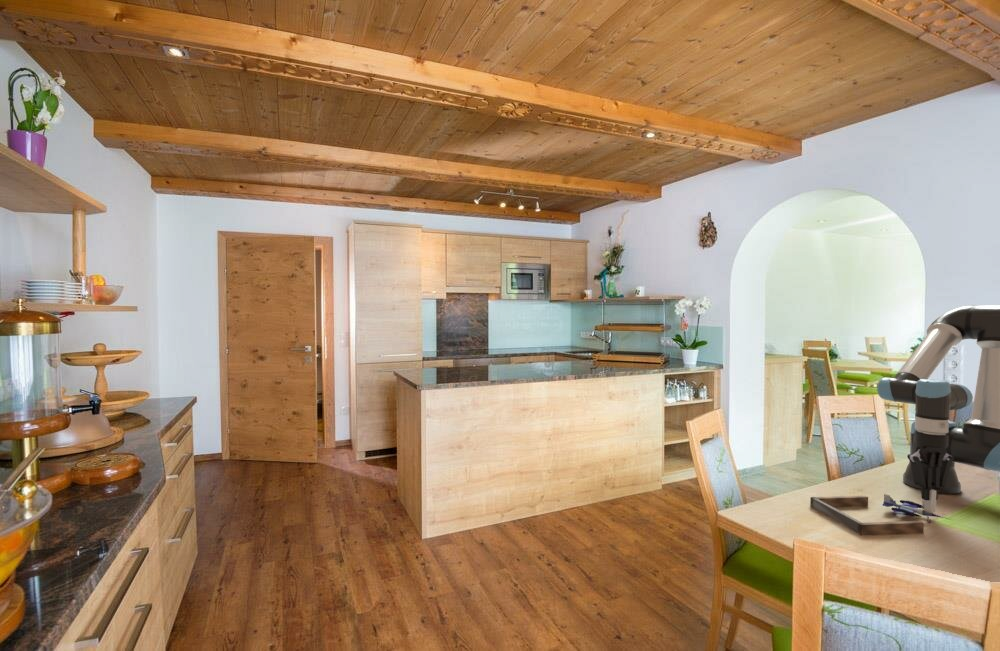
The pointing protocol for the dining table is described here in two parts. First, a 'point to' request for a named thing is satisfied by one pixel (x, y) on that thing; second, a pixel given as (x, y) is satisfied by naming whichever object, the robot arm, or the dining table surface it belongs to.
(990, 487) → the dining table surface
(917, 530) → the frame
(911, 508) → the toy airplane
